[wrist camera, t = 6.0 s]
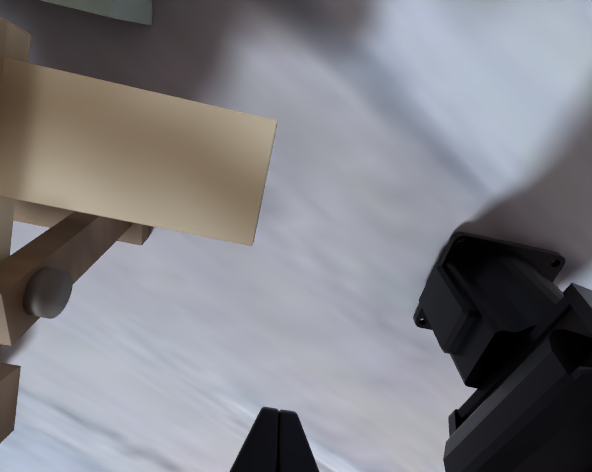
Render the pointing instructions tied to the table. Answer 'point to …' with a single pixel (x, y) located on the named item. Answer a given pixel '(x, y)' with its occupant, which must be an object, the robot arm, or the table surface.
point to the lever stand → (54, 262)
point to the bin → (113, 8)
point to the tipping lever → (121, 159)
